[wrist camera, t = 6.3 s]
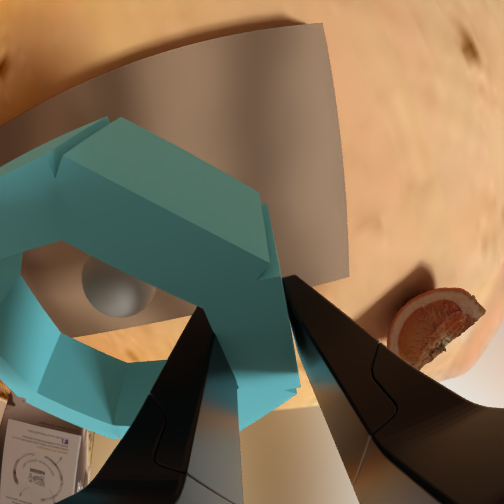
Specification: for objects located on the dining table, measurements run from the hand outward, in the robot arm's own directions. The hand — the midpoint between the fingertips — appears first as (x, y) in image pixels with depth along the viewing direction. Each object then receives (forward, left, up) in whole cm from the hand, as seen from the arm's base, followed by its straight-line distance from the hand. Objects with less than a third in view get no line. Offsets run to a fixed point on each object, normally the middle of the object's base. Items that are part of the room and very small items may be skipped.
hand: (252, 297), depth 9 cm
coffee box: (+19, +13, -9) cm, 24 cm away
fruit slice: (-12, +14, -9) cm, 21 cm away
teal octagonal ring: (+4, 0, -2) cm, 5 cm away
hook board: (+5, 0, -9) cm, 10 cm away
